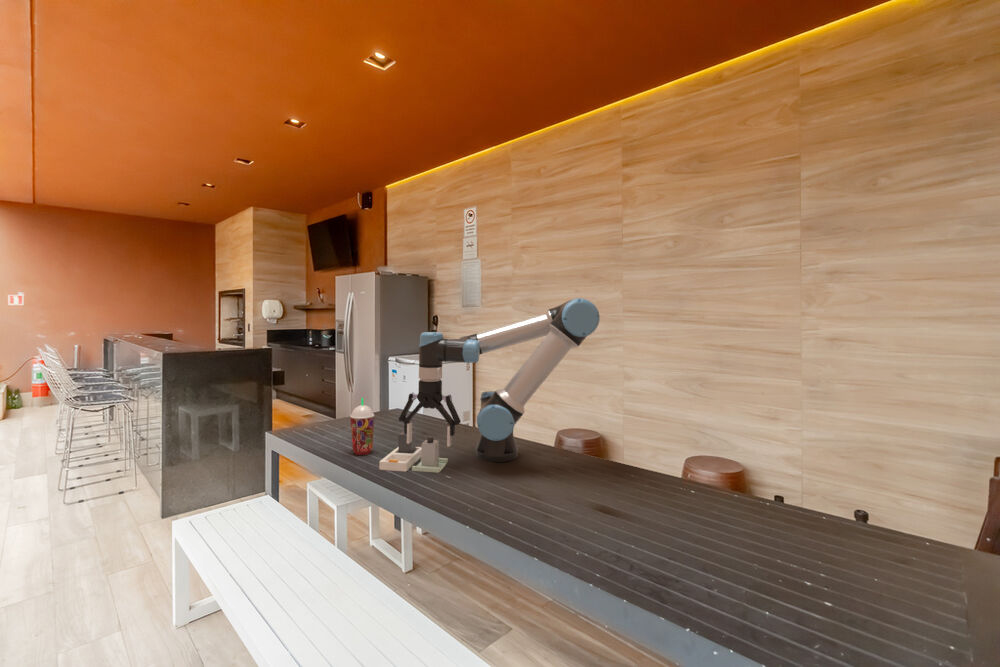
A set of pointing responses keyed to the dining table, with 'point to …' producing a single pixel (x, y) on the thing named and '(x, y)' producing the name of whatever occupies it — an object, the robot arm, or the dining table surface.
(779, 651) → the dining table surface
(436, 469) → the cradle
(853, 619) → the dining table surface
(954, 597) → the dining table surface
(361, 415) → the smoothie
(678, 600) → the dining table surface
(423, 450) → the plug
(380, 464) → the cream rectangular tray
